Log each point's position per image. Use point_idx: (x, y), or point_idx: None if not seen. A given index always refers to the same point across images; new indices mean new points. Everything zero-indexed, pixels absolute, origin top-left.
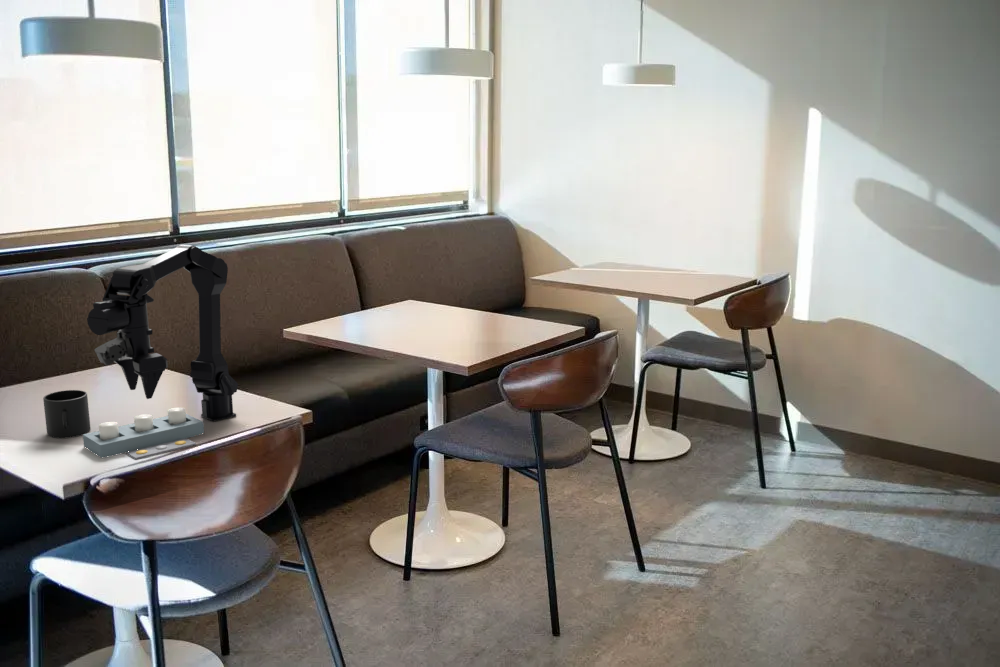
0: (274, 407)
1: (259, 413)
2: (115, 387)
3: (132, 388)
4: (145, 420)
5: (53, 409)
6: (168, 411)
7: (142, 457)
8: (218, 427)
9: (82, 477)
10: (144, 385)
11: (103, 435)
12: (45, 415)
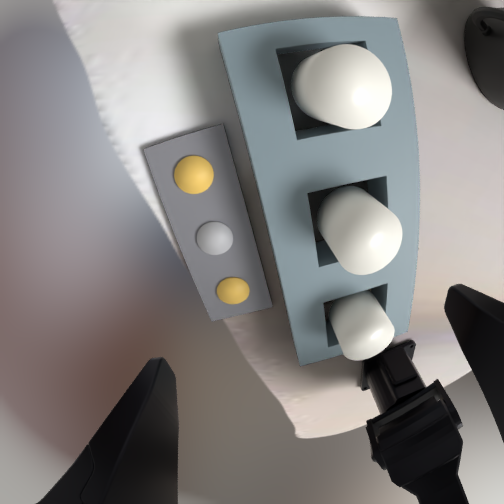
0: (359, 420)
1: (348, 409)
2: None
3: (452, 300)
4: (334, 243)
5: None
6: (371, 322)
7: (151, 171)
8: (320, 364)
9: (65, 4)
10: (85, 448)
11: (311, 57)
12: None
